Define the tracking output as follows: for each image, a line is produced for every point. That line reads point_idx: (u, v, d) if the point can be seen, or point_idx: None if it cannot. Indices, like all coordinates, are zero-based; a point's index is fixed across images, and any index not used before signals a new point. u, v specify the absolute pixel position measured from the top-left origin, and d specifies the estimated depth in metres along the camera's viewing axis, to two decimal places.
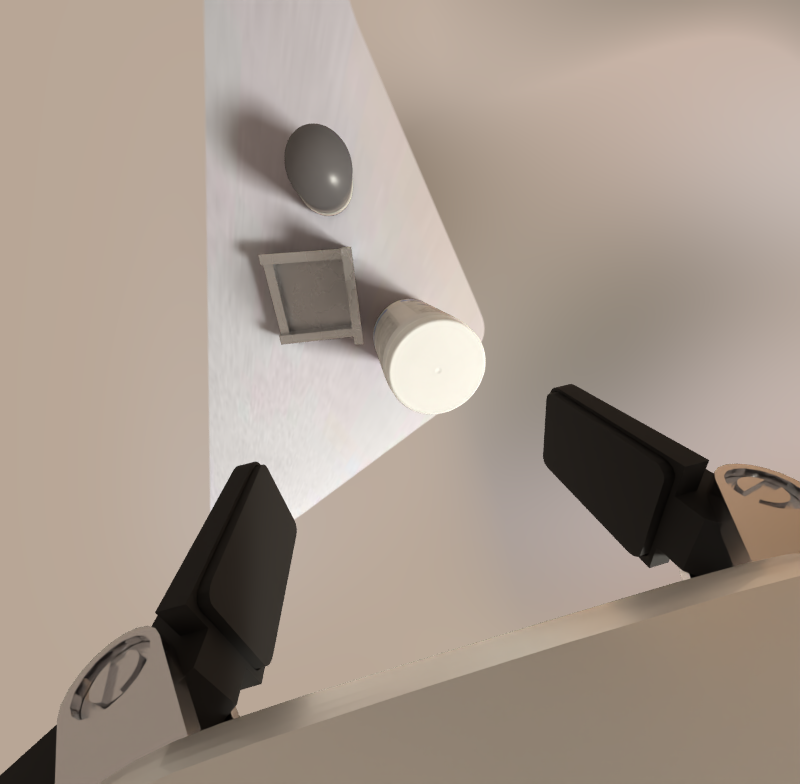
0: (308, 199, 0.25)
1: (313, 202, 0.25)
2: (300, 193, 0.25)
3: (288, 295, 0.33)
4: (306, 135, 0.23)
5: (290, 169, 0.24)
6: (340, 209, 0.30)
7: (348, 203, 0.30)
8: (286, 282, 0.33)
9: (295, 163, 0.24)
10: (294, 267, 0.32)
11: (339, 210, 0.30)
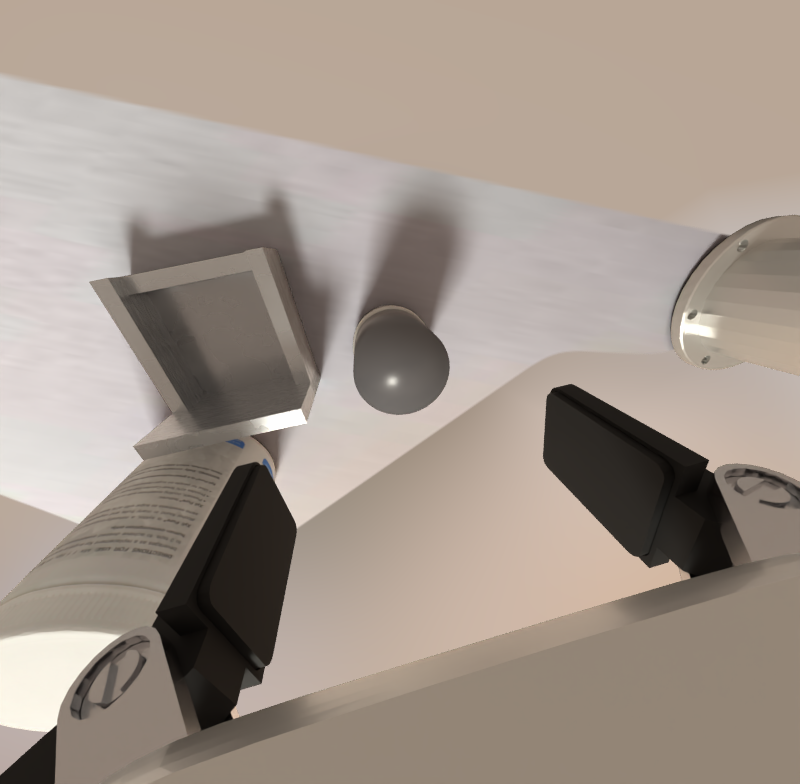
0: (357, 358, 0.16)
1: (355, 366, 0.16)
2: (363, 346, 0.15)
3: (216, 288, 0.19)
4: (435, 354, 0.16)
5: (392, 332, 0.15)
6: None
7: None
8: (238, 285, 0.19)
9: (401, 339, 0.15)
10: None
11: None
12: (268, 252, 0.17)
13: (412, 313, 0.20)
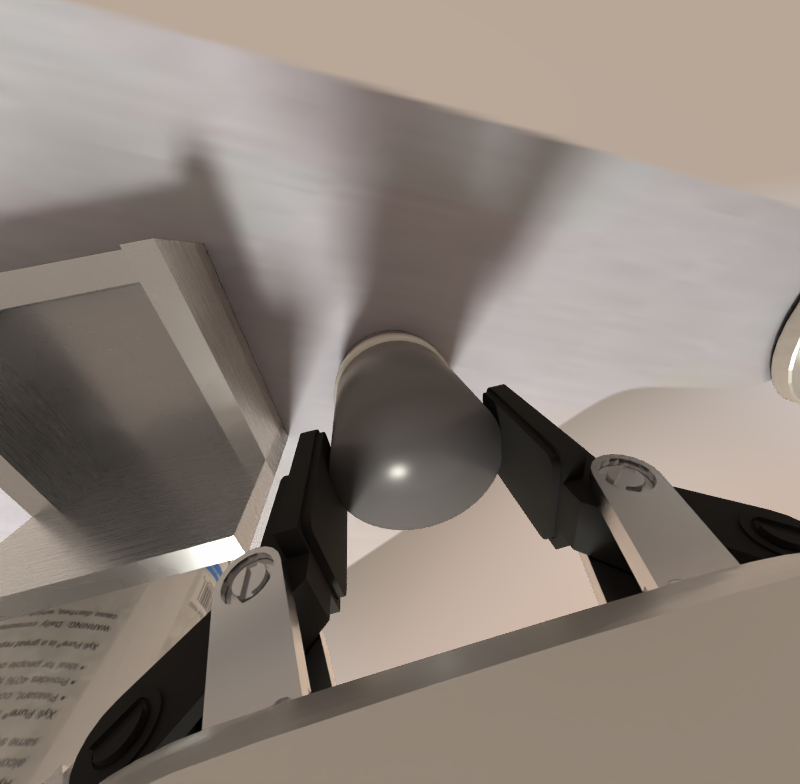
0: (336, 450, 0.08)
1: (332, 462, 0.08)
2: (347, 430, 0.08)
3: (98, 310, 0.11)
4: (480, 435, 0.09)
5: (403, 402, 0.08)
6: None
7: None
8: (137, 305, 0.11)
9: (419, 414, 0.08)
10: None
11: None
12: (175, 248, 0.09)
13: (427, 346, 0.13)
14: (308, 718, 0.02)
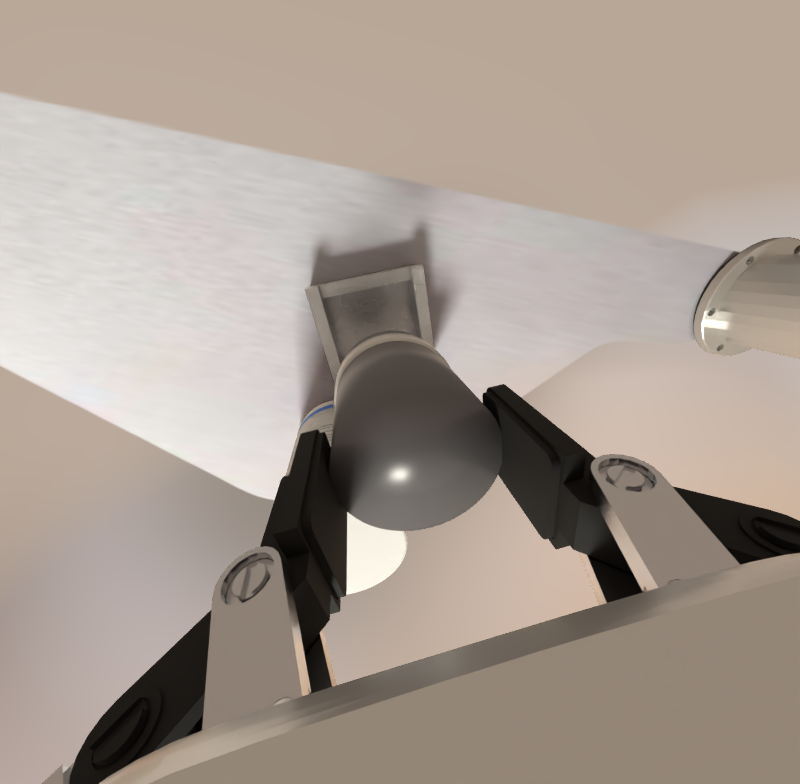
0: (336, 451, 0.08)
1: (332, 463, 0.08)
2: (347, 431, 0.08)
3: (372, 293, 0.25)
4: (481, 436, 0.09)
5: (403, 403, 0.08)
6: None
7: None
8: (387, 291, 0.25)
9: (419, 415, 0.08)
10: (406, 302, 0.26)
11: None
12: None
13: (428, 347, 0.13)
14: (308, 718, 0.02)
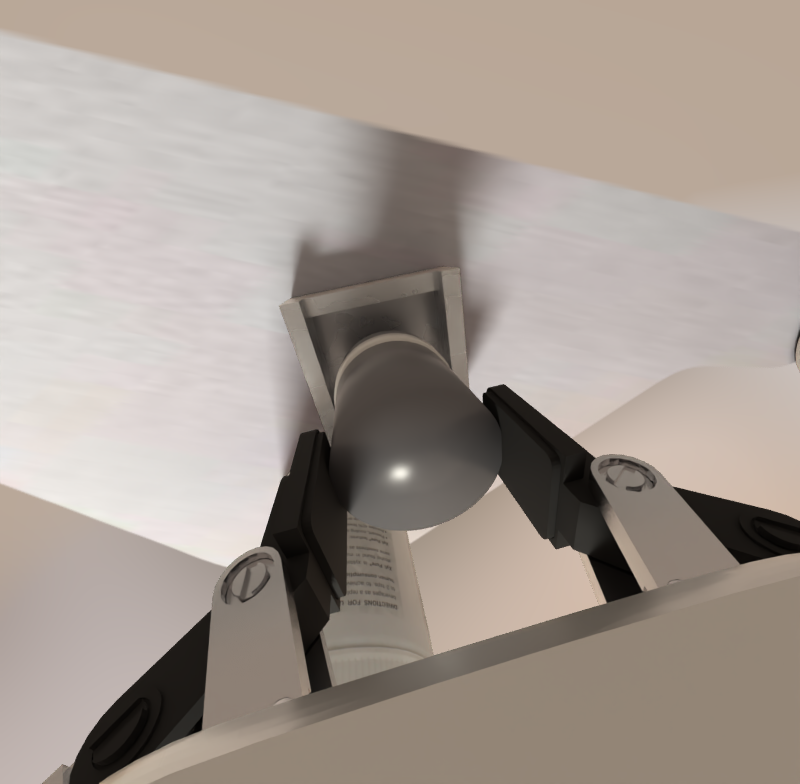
0: (336, 451, 0.08)
1: (332, 463, 0.08)
2: (347, 431, 0.08)
3: (380, 308, 0.18)
4: (481, 436, 0.09)
5: (403, 402, 0.08)
6: None
7: None
8: (402, 305, 0.18)
9: (418, 415, 0.08)
10: (428, 320, 0.18)
11: None
12: None
13: (427, 346, 0.13)
14: (308, 718, 0.02)
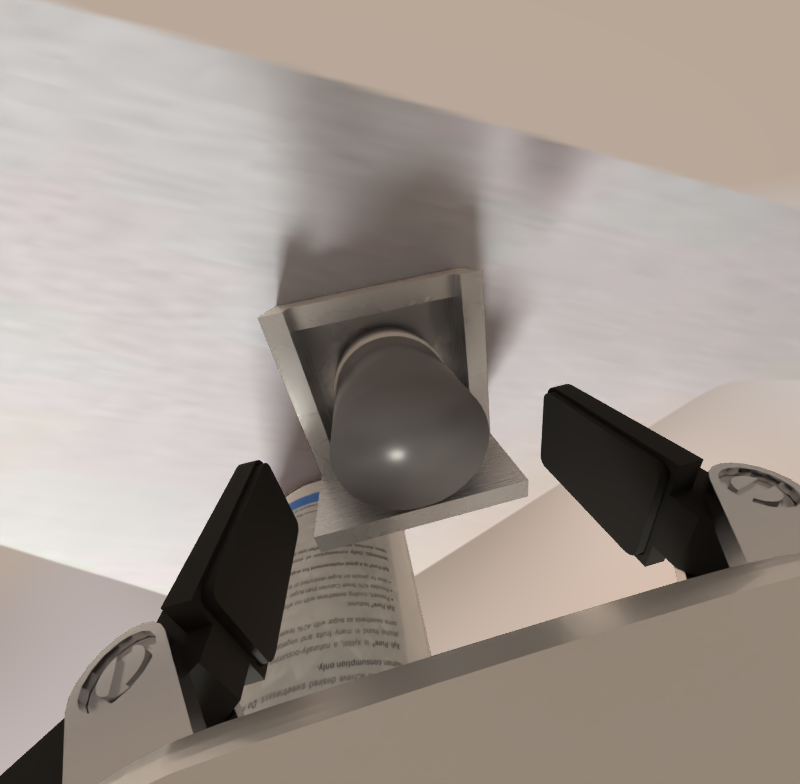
0: (336, 434, 0.09)
1: (332, 445, 0.09)
2: (346, 415, 0.09)
3: (383, 318, 0.15)
4: (468, 421, 0.10)
5: (396, 389, 0.09)
6: None
7: None
8: (410, 314, 0.15)
9: (411, 401, 0.09)
10: (440, 331, 0.15)
11: None
12: None
13: (422, 342, 0.13)
14: (308, 718, 0.02)
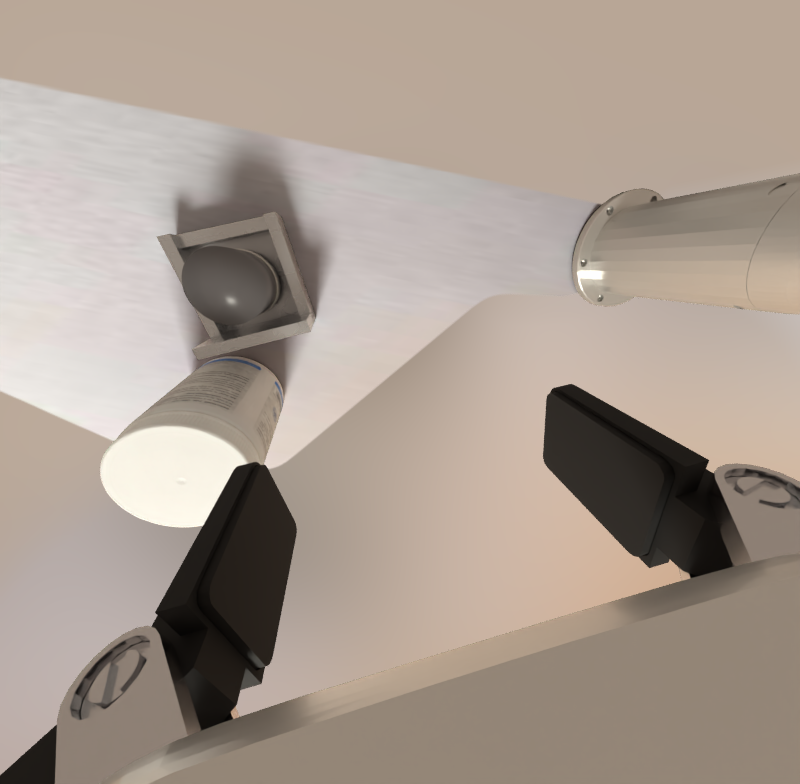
0: (183, 275, 0.20)
1: (183, 281, 0.21)
2: (186, 264, 0.20)
3: (239, 245, 0.26)
4: (248, 272, 0.21)
5: (207, 252, 0.20)
6: None
7: None
8: (255, 243, 0.26)
9: (216, 259, 0.20)
10: (276, 254, 0.27)
11: None
12: (278, 216, 0.25)
13: (254, 253, 0.25)
14: (308, 717, 0.02)
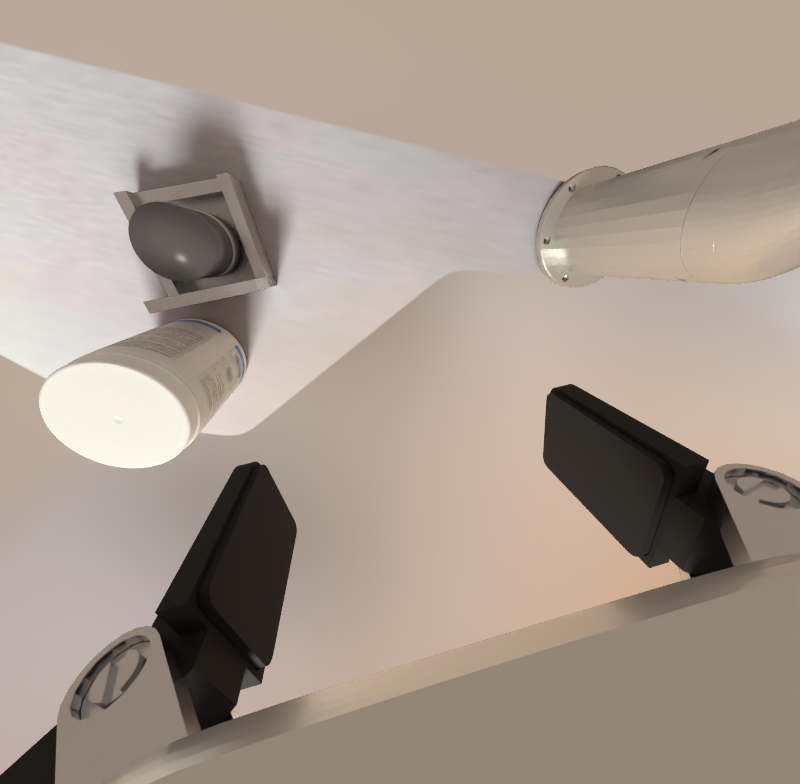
0: (130, 228, 0.21)
1: (130, 234, 0.22)
2: (132, 218, 0.21)
3: (198, 207, 0.27)
4: (194, 230, 0.22)
5: (153, 208, 0.21)
6: None
7: None
8: (213, 206, 0.27)
9: (161, 215, 0.21)
10: None
11: None
12: (232, 178, 0.26)
13: (210, 215, 0.26)
14: (308, 718, 0.02)
